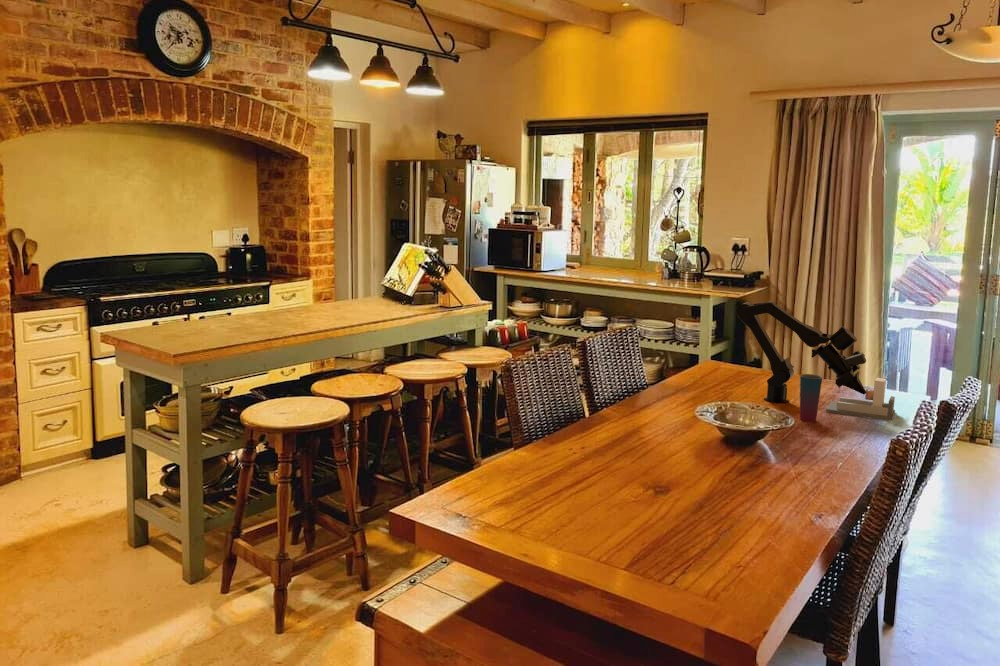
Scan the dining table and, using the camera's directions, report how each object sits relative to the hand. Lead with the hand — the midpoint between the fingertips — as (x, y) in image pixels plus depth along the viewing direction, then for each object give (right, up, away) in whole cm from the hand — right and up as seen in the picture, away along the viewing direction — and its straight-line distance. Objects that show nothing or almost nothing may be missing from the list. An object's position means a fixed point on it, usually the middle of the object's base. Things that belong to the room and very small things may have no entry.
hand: (865, 393), depth 263 cm
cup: (-23, -8, -8) cm, 26 cm away
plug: (+3, -6, -1) cm, 6 cm away
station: (-1, -7, +2) cm, 7 cm away
